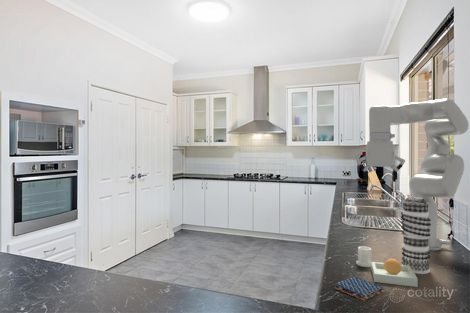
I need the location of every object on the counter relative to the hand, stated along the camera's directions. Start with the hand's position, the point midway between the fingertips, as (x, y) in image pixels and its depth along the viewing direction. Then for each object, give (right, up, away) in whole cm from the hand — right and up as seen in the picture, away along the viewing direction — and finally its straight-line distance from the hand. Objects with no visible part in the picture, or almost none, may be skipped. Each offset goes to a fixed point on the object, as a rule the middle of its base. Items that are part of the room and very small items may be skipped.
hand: (380, 181), depth 123 cm
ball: (-5, -29, -20) cm, 35 cm away
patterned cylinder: (+6, -30, -13) cm, 33 cm away
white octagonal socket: (-9, -30, -8) cm, 32 cm away
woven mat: (-20, -31, -30) cm, 47 cm away
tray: (-5, -30, -20) cm, 36 cm away
